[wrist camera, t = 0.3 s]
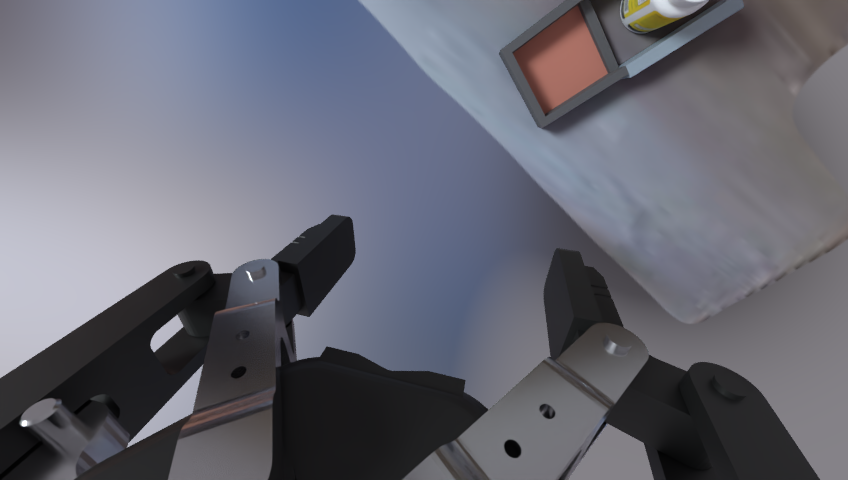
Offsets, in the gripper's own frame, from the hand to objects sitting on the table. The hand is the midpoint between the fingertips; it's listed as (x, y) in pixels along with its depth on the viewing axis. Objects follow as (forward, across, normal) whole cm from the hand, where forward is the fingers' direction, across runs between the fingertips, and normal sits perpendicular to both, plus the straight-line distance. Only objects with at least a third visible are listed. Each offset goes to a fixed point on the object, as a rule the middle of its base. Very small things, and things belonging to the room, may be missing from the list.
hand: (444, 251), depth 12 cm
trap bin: (+28, -6, -6) cm, 29 cm away
